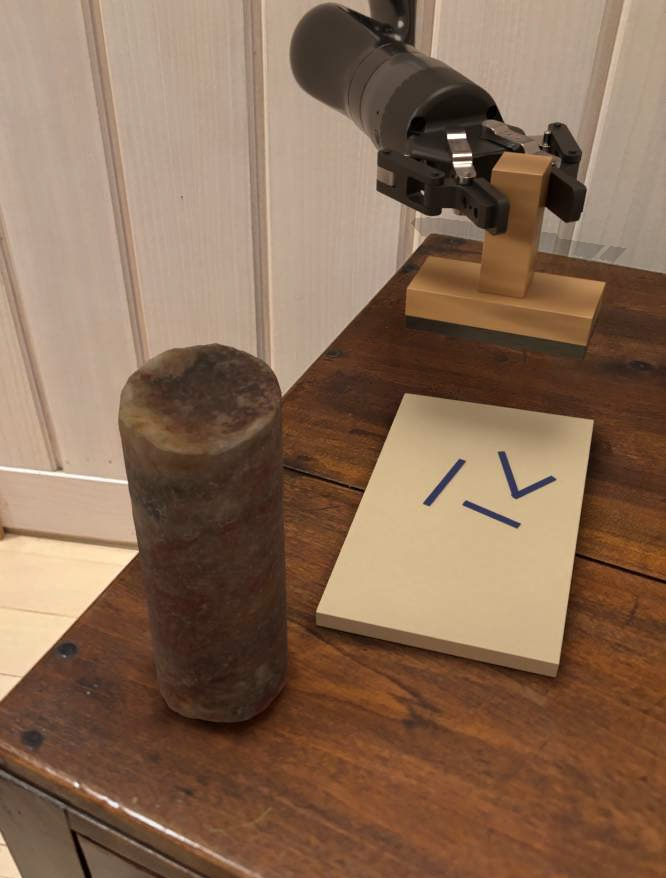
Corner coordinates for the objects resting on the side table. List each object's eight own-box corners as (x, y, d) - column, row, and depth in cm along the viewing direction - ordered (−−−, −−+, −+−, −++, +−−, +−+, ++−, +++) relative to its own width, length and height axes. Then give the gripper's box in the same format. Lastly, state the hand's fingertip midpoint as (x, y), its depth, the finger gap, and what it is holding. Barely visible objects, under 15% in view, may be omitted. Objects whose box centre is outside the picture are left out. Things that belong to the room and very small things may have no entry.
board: (404, 405, 72) (405, 391, 71) (590, 433, 68) (594, 418, 67) (315, 625, 55) (315, 610, 55) (555, 678, 52) (559, 663, 51)
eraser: (425, 294, 67) (438, 138, 59) (597, 322, 62) (633, 158, 55) (404, 328, 63) (414, 166, 56) (583, 360, 59) (619, 191, 52)
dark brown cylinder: (307, 647, 54) (299, 350, 41) (273, 749, 49) (251, 448, 36) (185, 624, 56) (139, 332, 43) (140, 720, 51) (72, 423, 37)
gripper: (334, 79, 63) (434, 167, 51) (524, 52, 66) (663, 130, 53) (333, 187, 68) (424, 291, 56) (510, 159, 71) (634, 253, 58)
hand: (540, 212), depth 55 cm, fingers closed on eraser, 4 cm apart
